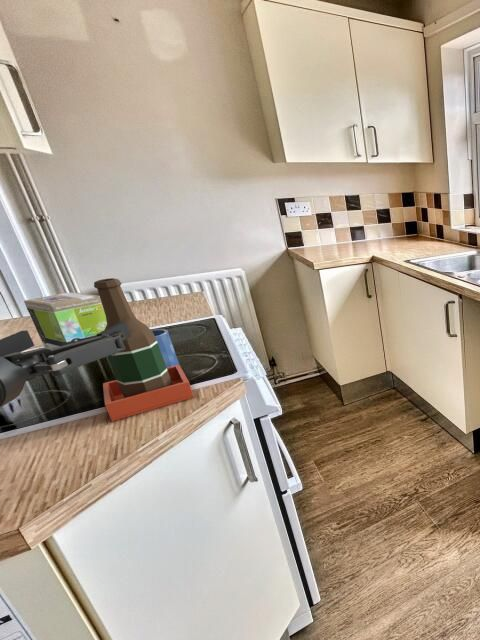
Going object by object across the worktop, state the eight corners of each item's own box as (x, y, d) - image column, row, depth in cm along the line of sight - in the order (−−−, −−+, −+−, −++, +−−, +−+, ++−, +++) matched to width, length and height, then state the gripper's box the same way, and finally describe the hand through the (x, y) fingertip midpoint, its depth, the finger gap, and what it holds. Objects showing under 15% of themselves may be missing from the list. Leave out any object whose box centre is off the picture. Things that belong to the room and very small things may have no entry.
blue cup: (141, 375, 96) (125, 335, 92) (178, 366, 100) (165, 327, 97) (144, 385, 91) (127, 342, 88) (183, 375, 96) (169, 334, 92)
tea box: (122, 348, 113) (101, 294, 108) (73, 362, 105) (48, 305, 99) (93, 341, 119) (72, 290, 114) (45, 353, 111) (20, 299, 105)
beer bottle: (126, 395, 86) (79, 280, 77) (173, 383, 91) (133, 273, 82) (125, 409, 80) (74, 287, 72) (175, 396, 85) (133, 279, 76)
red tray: (109, 398, 86) (102, 383, 85) (184, 378, 94) (179, 364, 93) (112, 421, 78) (104, 404, 76) (194, 397, 86) (188, 381, 84)
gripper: (-157, 434, 50) (-5, 363, 69) (95, 402, 56) (171, 345, 75) (-197, 377, 47) (-27, 320, 66) (72, 349, 53) (157, 304, 72)
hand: (78, 333), depth 71 cm, fingers open, 13 cm apart
